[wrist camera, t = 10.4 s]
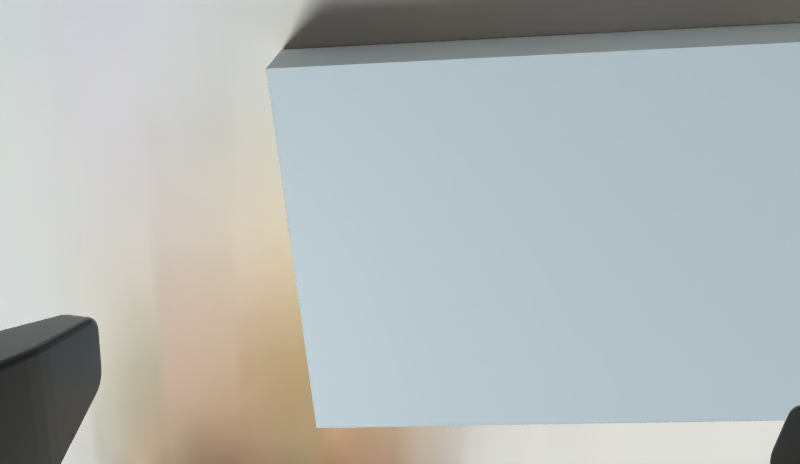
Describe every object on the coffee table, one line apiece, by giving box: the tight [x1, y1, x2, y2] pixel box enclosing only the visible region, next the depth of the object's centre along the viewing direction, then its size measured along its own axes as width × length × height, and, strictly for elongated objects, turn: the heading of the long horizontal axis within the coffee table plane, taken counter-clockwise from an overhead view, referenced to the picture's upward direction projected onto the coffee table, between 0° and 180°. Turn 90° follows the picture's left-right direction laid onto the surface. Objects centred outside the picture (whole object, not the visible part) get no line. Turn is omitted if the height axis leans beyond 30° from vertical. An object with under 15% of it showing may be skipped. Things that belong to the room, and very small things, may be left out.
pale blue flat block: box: [266, 23, 800, 428], centre depth 21 cm, size 15×11×2 cm
